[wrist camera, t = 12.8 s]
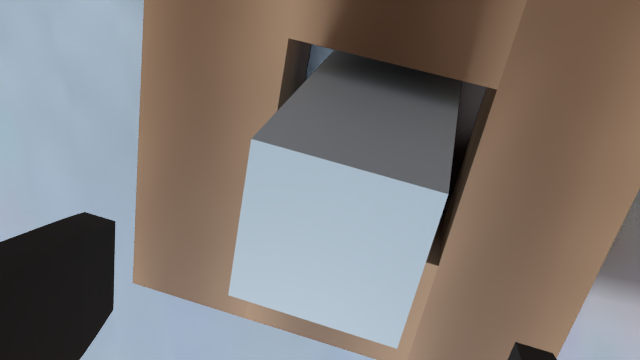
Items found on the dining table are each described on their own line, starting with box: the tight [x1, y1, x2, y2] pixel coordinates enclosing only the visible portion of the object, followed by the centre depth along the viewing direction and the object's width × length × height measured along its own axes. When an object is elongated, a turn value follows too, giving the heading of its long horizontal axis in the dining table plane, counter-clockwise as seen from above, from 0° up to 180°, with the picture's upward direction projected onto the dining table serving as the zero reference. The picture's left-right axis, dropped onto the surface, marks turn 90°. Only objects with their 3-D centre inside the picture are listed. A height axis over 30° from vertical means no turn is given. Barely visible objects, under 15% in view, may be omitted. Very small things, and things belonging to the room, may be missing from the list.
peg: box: [228, 50, 462, 349], centre depth 16 cm, size 4×4×8 cm
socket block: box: [133, 0, 640, 360], centre depth 18 cm, size 14×14×3 cm
